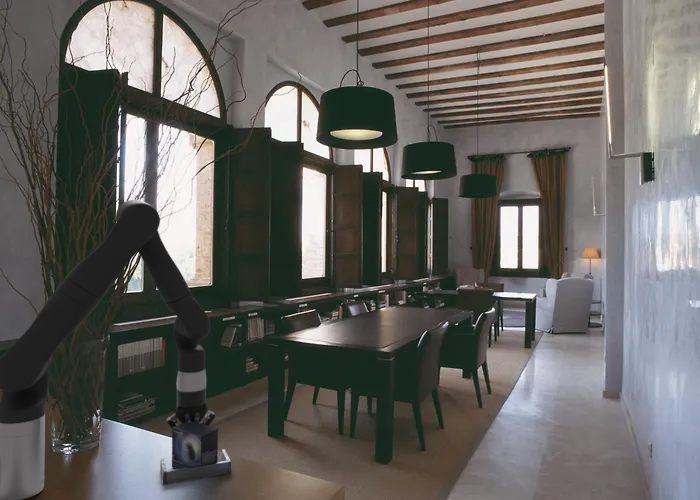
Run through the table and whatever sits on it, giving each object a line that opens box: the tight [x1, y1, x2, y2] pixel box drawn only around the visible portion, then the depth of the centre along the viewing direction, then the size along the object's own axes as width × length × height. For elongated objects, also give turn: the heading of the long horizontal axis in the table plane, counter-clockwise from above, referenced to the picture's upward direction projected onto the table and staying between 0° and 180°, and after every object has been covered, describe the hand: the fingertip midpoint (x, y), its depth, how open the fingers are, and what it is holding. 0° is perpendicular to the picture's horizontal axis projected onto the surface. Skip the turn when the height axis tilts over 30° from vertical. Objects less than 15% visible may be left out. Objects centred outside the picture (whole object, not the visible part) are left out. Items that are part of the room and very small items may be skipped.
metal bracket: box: [159, 448, 232, 486], centre depth 126 cm, size 16×8×3 cm, turn 115°
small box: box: [171, 421, 219, 469], centre depth 128 cm, size 11×6×10 cm, turn 61°
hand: (191, 449), depth 135 cm, fingers closed
